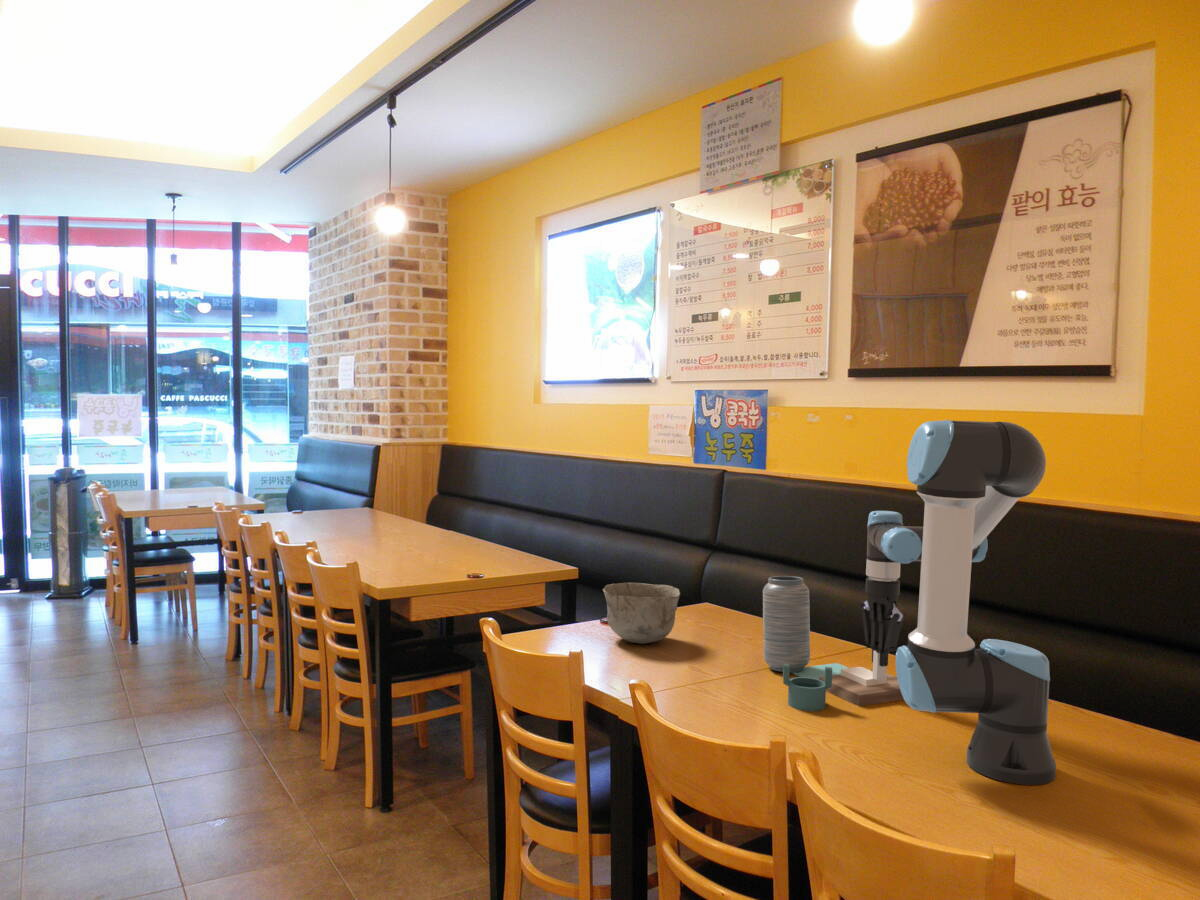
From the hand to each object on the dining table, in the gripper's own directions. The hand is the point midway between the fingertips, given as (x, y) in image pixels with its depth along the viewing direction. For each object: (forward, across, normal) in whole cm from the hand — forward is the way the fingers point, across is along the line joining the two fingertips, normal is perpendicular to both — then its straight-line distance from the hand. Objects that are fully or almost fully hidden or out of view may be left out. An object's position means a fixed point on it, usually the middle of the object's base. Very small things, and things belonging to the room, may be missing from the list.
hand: (879, 678), depth 205 cm
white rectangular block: (+2, +5, 0) cm, 5 cm away
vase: (+4, +25, +8) cm, 26 cm away
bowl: (+5, +62, +31) cm, 70 cm away
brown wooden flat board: (+4, +3, 0) cm, 5 cm away
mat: (+4, +17, 0) cm, 18 cm away
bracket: (+4, +2, +20) cm, 20 cm away
